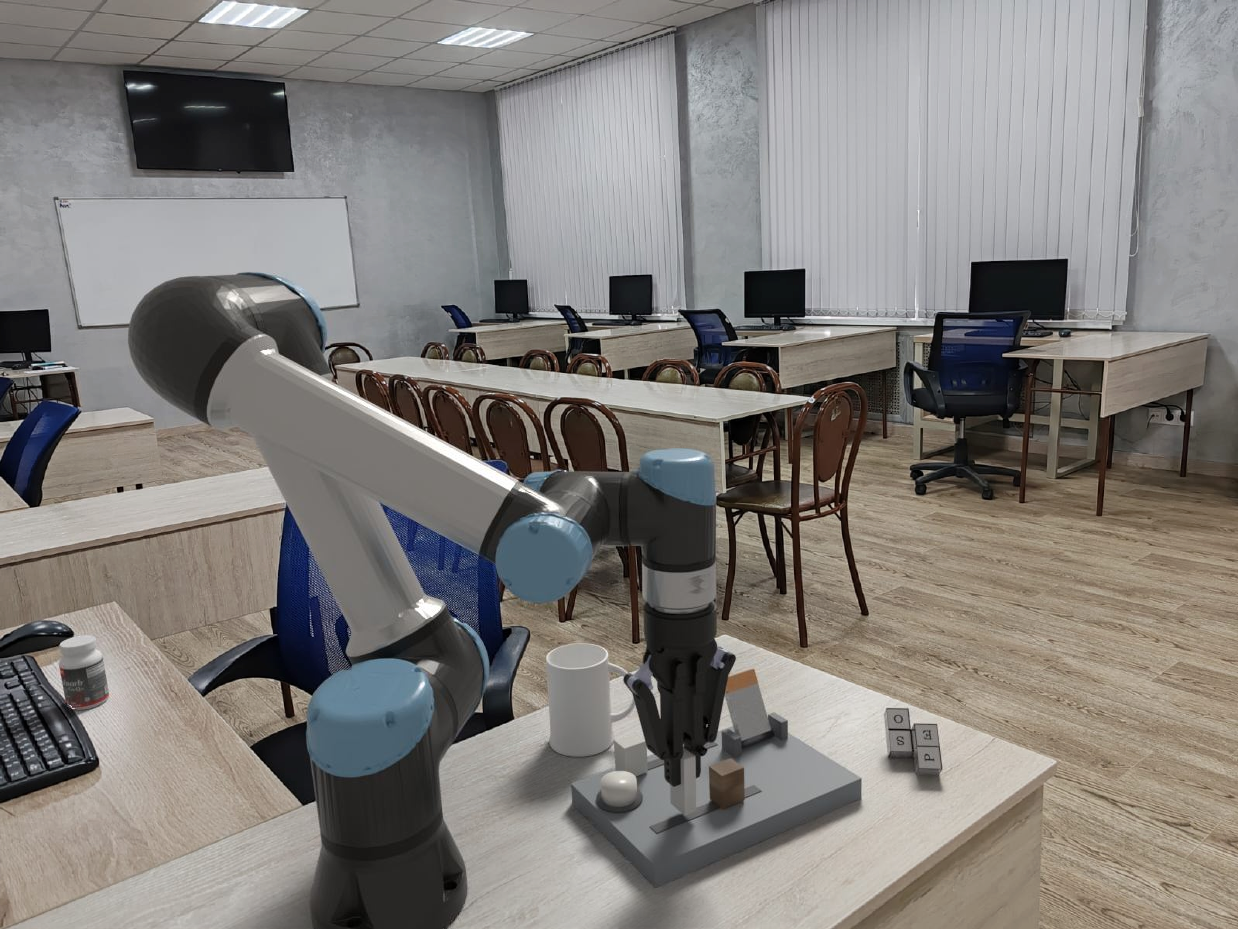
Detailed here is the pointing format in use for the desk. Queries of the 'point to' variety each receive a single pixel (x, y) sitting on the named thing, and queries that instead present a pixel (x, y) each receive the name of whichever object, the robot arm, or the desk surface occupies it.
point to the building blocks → (913, 741)
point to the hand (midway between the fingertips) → (683, 807)
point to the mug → (581, 699)
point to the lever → (747, 708)
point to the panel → (679, 844)
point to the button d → (619, 788)
